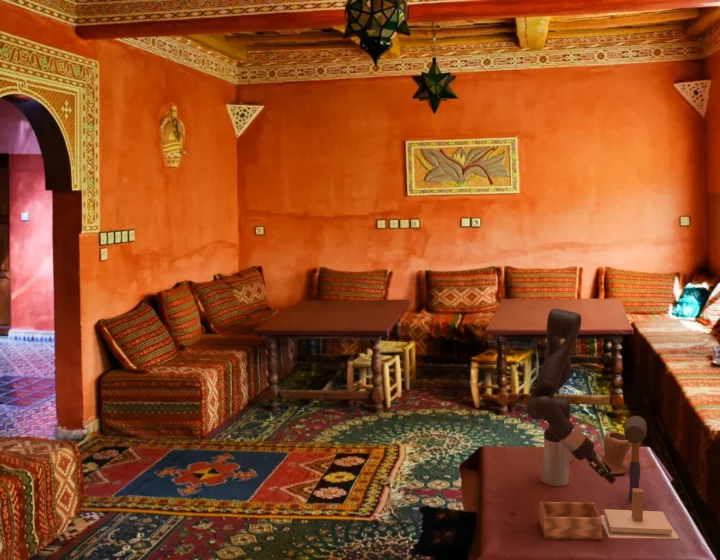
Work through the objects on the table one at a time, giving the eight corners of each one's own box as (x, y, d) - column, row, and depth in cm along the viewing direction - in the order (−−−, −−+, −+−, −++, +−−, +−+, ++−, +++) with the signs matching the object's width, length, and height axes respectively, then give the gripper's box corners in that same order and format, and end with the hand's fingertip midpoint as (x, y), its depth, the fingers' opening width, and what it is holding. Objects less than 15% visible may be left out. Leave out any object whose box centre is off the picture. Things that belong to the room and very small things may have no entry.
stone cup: (633, 476, 316) (634, 438, 314) (602, 476, 316) (602, 439, 314) (622, 462, 331) (623, 426, 329) (592, 462, 331) (593, 427, 329)
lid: (610, 534, 266) (610, 497, 264) (604, 516, 280) (604, 481, 278) (671, 536, 263) (672, 499, 261) (662, 518, 277) (663, 483, 275)
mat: (609, 538, 264) (609, 537, 264) (598, 516, 281) (598, 515, 280) (679, 539, 262) (679, 538, 262) (664, 517, 279) (664, 516, 279)
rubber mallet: (644, 508, 286) (646, 425, 282) (621, 505, 289) (623, 423, 285) (646, 495, 297) (648, 415, 293) (624, 492, 300) (626, 413, 296)
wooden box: (544, 538, 265) (544, 518, 264) (539, 521, 277) (539, 501, 276) (601, 539, 263) (602, 518, 262) (593, 522, 276) (594, 502, 275)
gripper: (587, 442, 263) (623, 477, 263) (582, 428, 277) (616, 461, 277) (570, 457, 264) (606, 492, 264) (566, 442, 278) (600, 476, 278)
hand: (611, 477), depth 270 cm, fingers open, 8 cm apart
